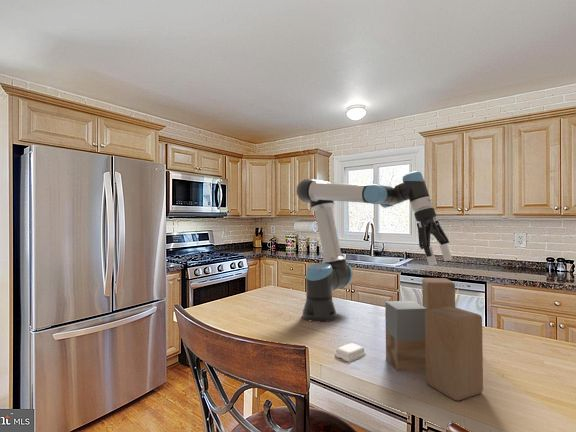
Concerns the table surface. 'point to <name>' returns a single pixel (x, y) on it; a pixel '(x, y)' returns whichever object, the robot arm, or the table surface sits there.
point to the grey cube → (405, 320)
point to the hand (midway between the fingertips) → (441, 262)
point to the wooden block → (438, 293)
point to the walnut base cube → (405, 354)
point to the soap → (350, 352)
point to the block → (454, 352)
